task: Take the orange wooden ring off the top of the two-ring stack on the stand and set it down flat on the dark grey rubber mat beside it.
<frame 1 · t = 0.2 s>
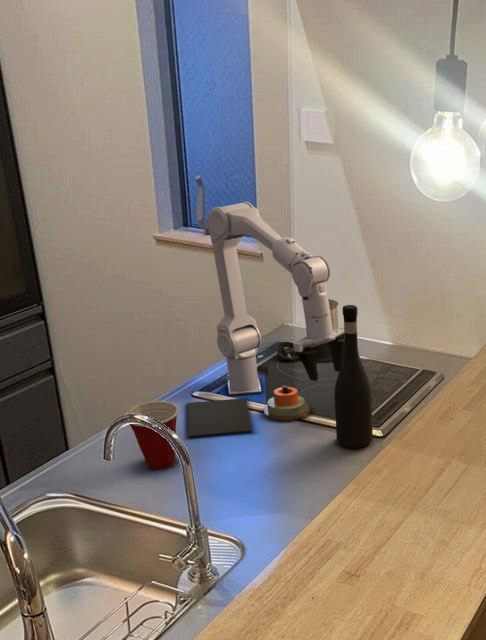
hand: (326, 375, 196), 10 cm above the counter, tool pointing down, fingers open, 7 cm apart
milk frother: (309, 358, 237), on the counter
wine bottle: (354, 442, 190), on the counter
plastic cup: (160, 464, 181), on the counter
ring: (286, 401, 203), point 3 cm above the counter, touching ring stand
ring stand: (287, 412, 204), on the counter
mat: (219, 418, 201), on the counter
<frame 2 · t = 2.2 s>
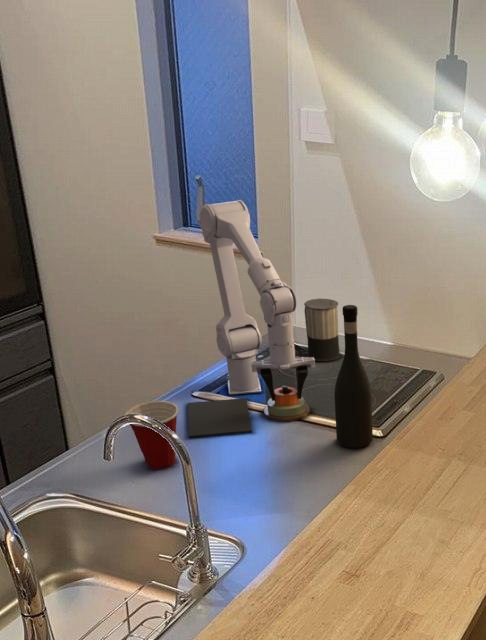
hand: (286, 398, 202), 4 cm above the counter, tool pointing down, fingers closed on ring, 5 cm apart
ring: (286, 401, 203), point 3 cm above the counter, touching gripper, ring stand
everything else where it was.
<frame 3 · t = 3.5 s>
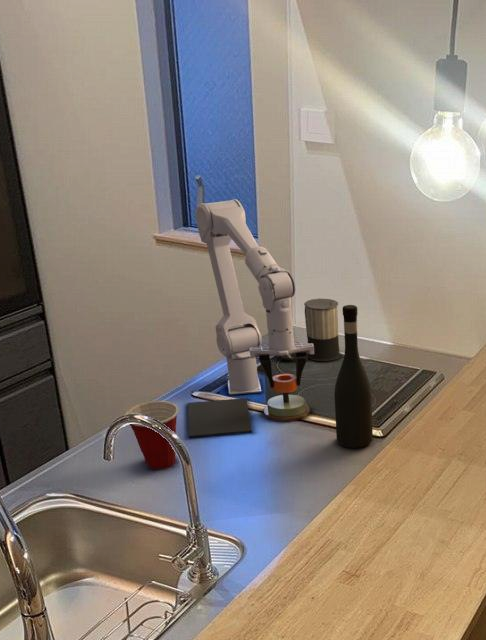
hand: (284, 385, 200), 7 cm above the counter, tool pointing down, fingers closed on ring, 5 cm apart
ring: (285, 388, 201), point 6 cm above the counter, touching gripper
everything else where it was.
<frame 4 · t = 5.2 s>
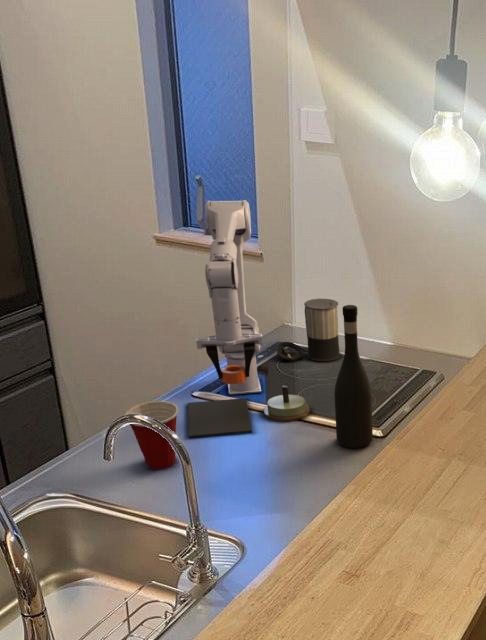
hand: (233, 376, 197), 10 cm above the counter, tool pointing down, fingers closed on ring, 5 cm apart
ring: (234, 379, 197), point 9 cm above the counter, touching gripper
everything else where it was.
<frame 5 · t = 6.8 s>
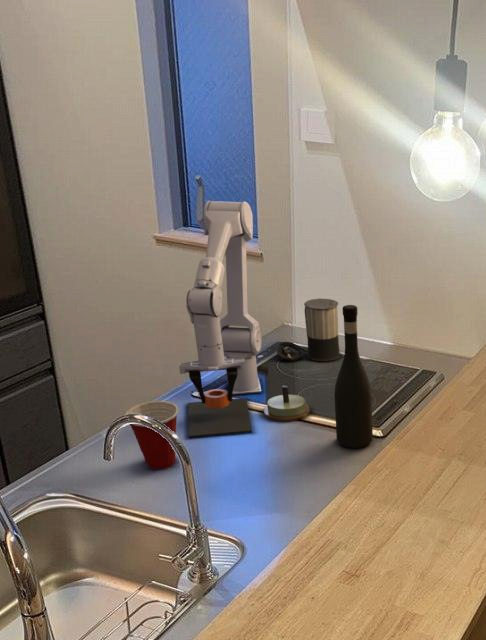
hand: (216, 400, 199), 4 cm above the counter, tool pointing down, fingers closed on ring, 5 cm apart
ring: (217, 403, 199), point 4 cm above the counter, touching gripper
everything else where it was.
when the fingers open (1 cm above the counter, at t = 8.2 s): ring stays where it is, resting on mat.
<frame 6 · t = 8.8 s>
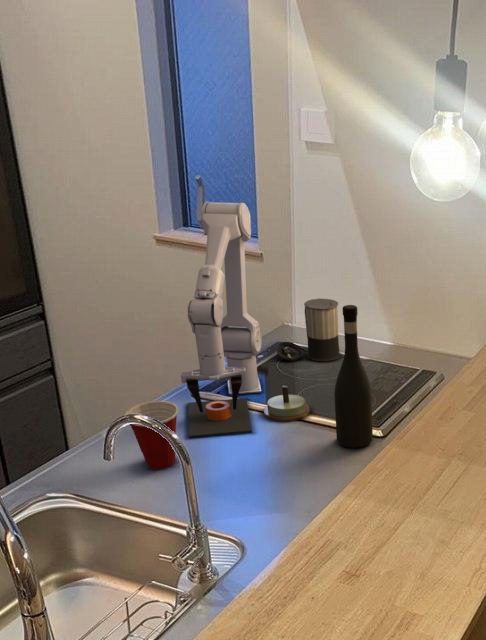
hand: (218, 409, 200), 2 cm above the counter, tool pointing down, fingers open, 7 cm apart
ring: (218, 416, 201), point 1 cm above the counter, touching mat
everything else where it was.
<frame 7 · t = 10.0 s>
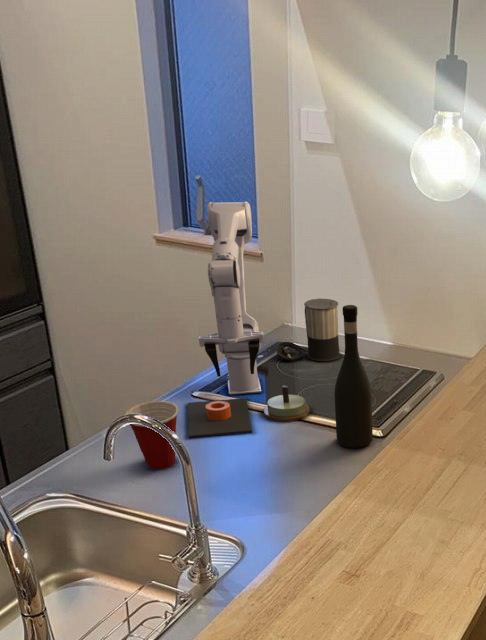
hand: (235, 373, 199), 9 cm above the counter, tool pointing down, fingers open, 7 cm apart
nothing on the counter moved.
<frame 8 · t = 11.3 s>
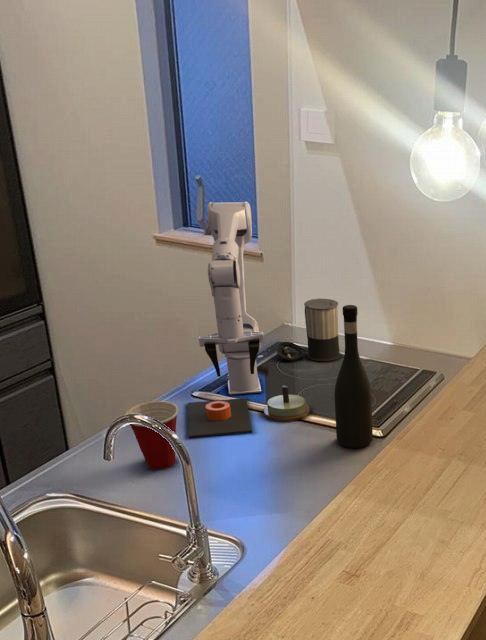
hand: (235, 373, 199), 9 cm above the counter, tool pointing down, fingers open, 7 cm apart
nothing on the counter moved.
at the end: ring inside the target area on the mat (0.0 cm from its centre), point 0.6 cm above the mat's base; ring tilted 0°; the gripper is holding nothing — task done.
